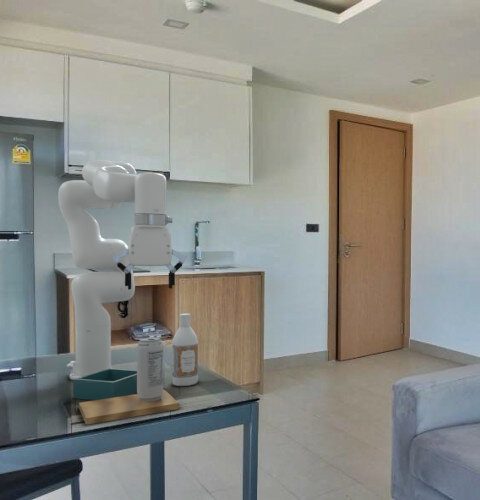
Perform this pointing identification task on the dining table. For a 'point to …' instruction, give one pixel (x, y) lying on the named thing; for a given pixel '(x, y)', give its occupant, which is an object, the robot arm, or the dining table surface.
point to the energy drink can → (150, 369)
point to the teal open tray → (105, 384)
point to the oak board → (124, 407)
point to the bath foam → (185, 354)
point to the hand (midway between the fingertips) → (150, 288)
